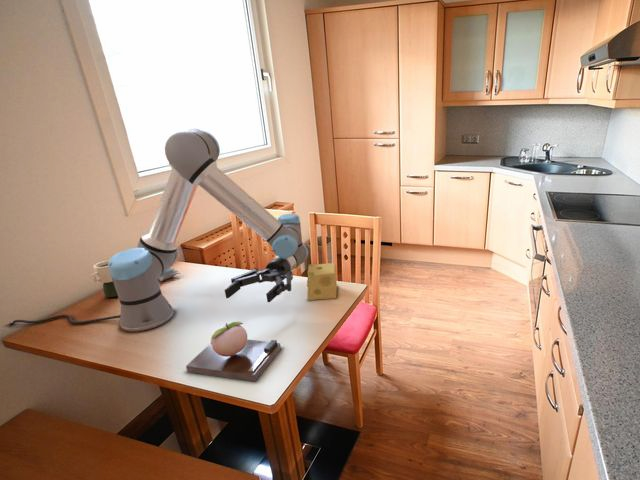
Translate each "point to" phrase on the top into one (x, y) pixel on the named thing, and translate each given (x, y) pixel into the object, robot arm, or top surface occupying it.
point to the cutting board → (236, 361)
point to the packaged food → (169, 274)
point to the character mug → (104, 278)
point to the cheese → (321, 281)
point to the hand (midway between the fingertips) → (246, 296)
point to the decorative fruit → (229, 339)
